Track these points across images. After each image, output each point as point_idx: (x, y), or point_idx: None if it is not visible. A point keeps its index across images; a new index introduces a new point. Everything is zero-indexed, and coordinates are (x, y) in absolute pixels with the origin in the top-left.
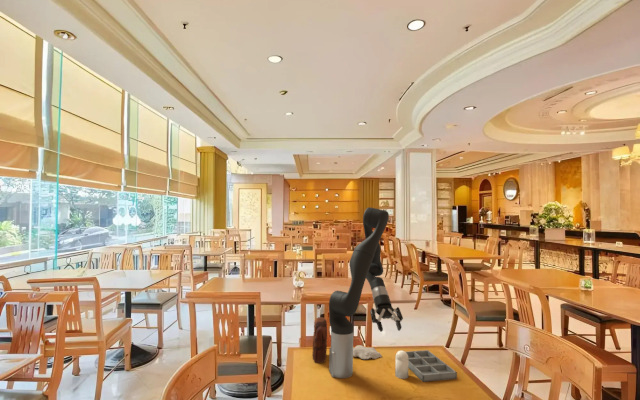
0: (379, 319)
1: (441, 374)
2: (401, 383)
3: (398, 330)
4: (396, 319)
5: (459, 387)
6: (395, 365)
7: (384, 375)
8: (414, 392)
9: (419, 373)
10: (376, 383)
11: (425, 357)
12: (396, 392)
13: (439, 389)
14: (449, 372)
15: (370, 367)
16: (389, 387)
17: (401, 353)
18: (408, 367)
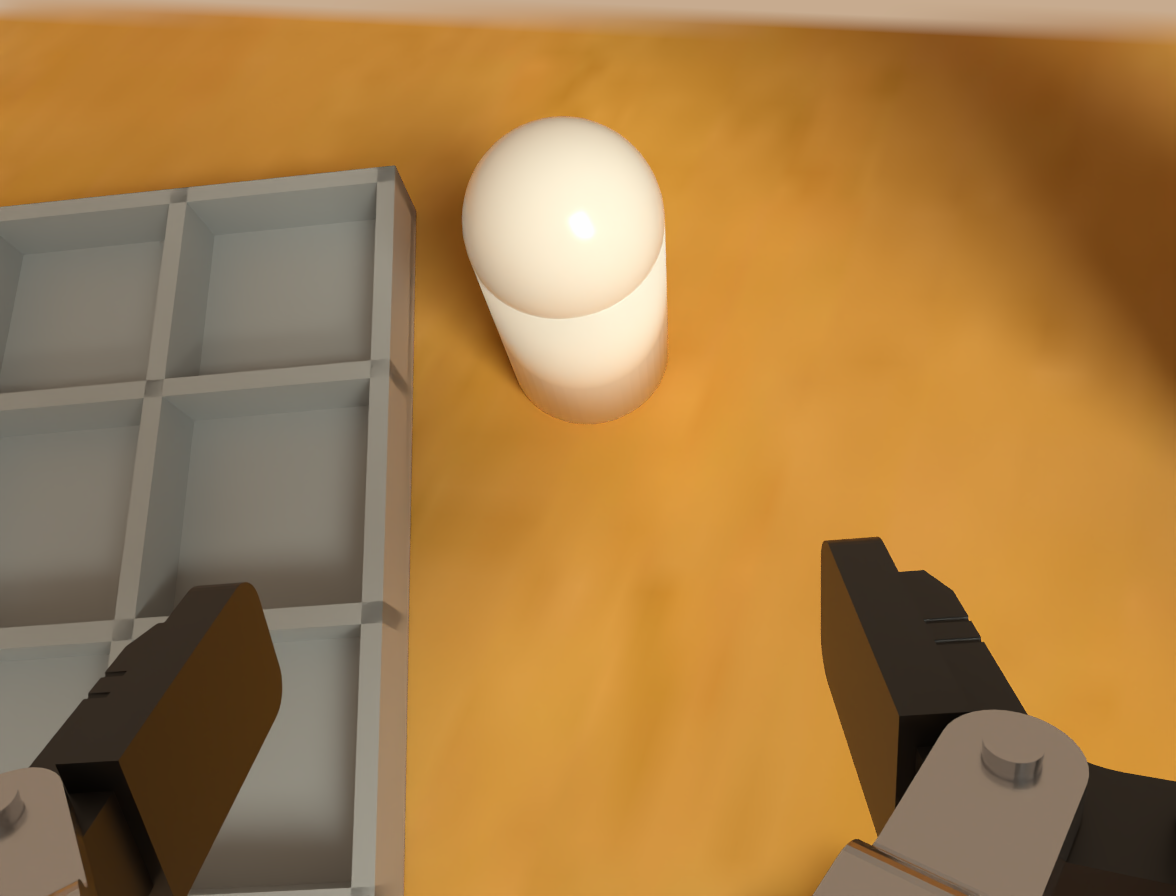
0: (984, 790)
1: (167, 197)
2: (664, 195)
3: (279, 667)
4: (83, 843)
5: (123, 108)
6: (663, 308)
7: (808, 371)
8: (601, 46)
9: (398, 245)
10: (954, 207)
11: (52, 640)
12: (780, 49)
13: (333, 84)
14: (54, 210)
15: None
16: (825, 130)
17: (584, 127)
18: (409, 540)
